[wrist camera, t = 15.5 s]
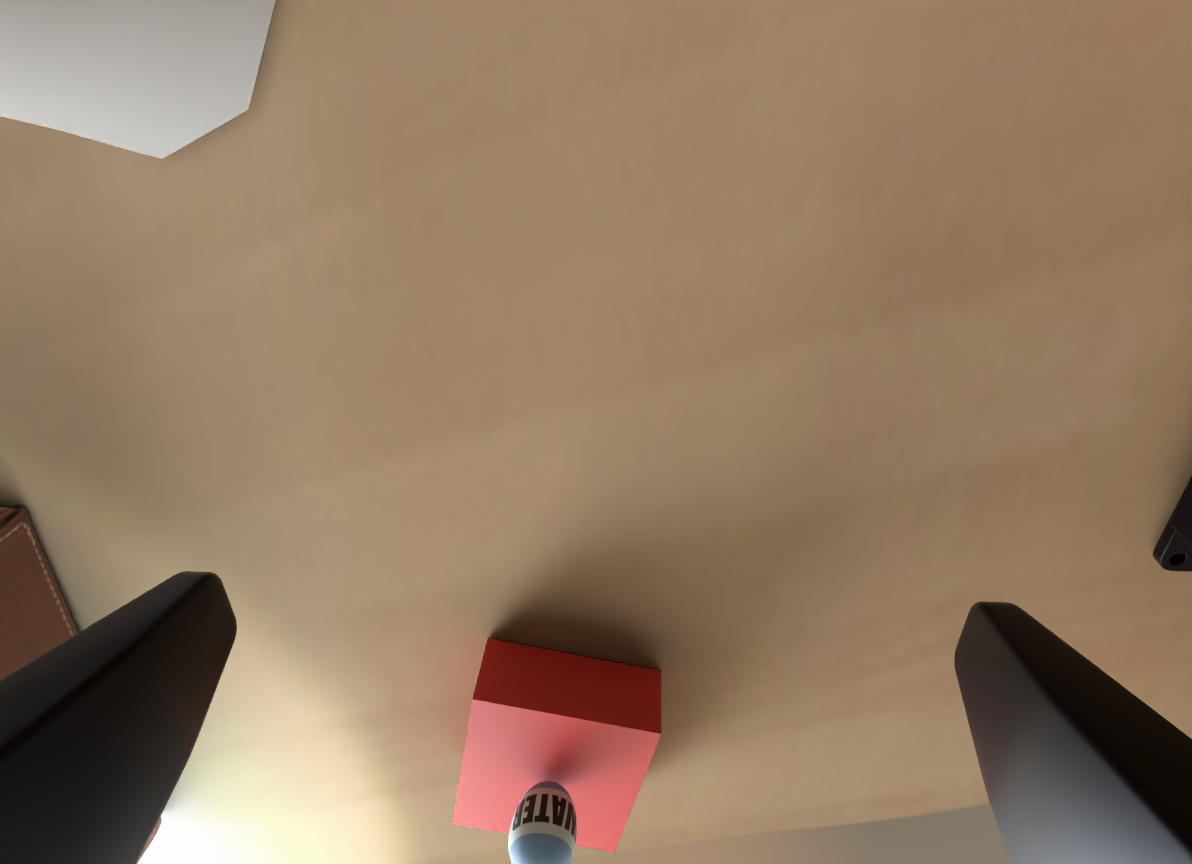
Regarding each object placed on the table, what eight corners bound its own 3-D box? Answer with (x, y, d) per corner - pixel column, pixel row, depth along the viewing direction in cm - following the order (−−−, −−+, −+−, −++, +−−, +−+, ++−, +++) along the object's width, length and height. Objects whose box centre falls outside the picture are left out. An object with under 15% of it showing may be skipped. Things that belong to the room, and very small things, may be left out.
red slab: (487, 638, 28) (448, 794, 22) (660, 670, 28) (662, 831, 23) (466, 761, 32) (429, 917, 27) (617, 788, 32) (610, 948, 27)
